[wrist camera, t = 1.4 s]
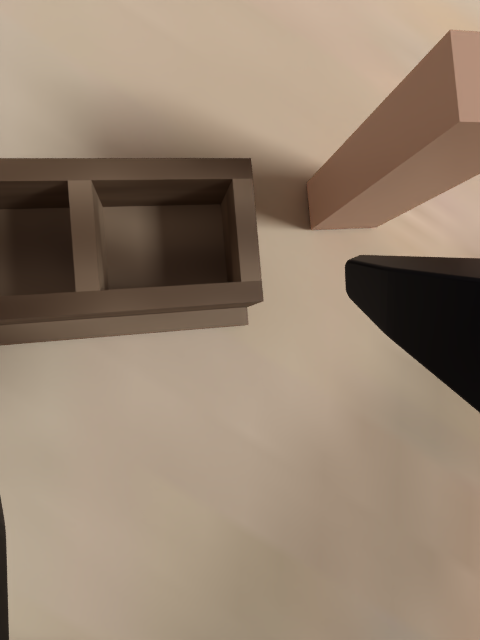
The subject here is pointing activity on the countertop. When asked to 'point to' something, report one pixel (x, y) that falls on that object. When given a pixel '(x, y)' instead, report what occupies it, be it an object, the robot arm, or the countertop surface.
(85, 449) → the countertop surface
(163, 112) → the countertop surface
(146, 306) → the compartment tray
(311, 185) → the clay block
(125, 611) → the countertop surface
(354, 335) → the countertop surface
